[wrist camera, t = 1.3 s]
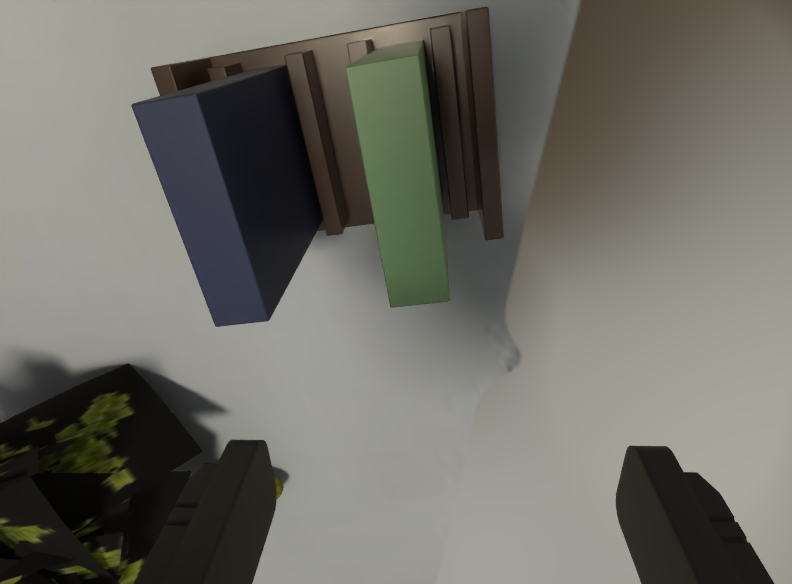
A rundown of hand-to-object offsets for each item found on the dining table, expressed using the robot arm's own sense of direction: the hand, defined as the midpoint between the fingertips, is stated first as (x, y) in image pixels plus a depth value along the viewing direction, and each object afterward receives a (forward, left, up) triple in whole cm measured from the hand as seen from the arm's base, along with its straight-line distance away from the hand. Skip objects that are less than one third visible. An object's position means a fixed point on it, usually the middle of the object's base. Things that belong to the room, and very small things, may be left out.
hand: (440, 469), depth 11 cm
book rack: (+5, -3, -23) cm, 24 cm away
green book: (+1, -3, -22) cm, 23 cm away
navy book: (+8, -3, -22) cm, 24 cm away
